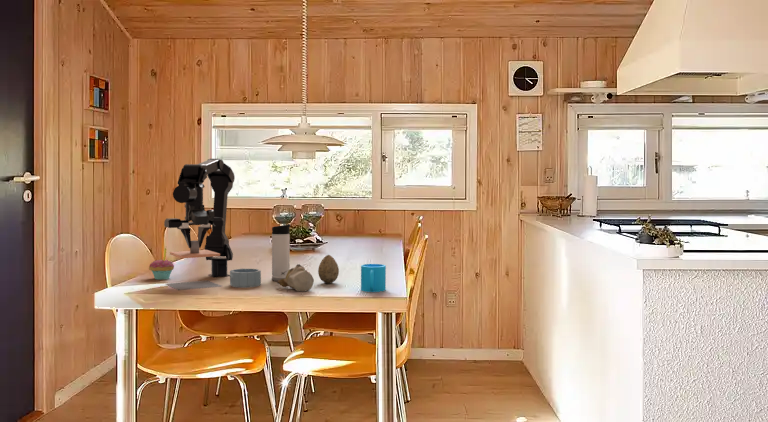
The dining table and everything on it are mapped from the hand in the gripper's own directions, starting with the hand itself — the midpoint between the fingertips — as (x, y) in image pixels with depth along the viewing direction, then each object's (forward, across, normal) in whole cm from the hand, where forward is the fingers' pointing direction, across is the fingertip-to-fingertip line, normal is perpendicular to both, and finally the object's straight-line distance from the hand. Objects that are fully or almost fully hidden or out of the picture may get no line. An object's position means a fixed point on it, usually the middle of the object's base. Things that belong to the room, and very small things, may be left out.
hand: (194, 247), depth 238 cm
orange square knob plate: (+2, 0, 0) cm, 2 cm away
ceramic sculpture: (+13, +27, -23) cm, 38 cm away
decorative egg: (+13, +42, -18) cm, 47 cm away
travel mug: (+13, +31, -3) cm, 33 cm away
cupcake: (+13, -6, +20) cm, 25 cm away
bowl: (+13, +15, -9) cm, 21 cm away
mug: (+13, +47, -38) cm, 62 cm away
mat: (+13, 0, 0) cm, 13 cm away
